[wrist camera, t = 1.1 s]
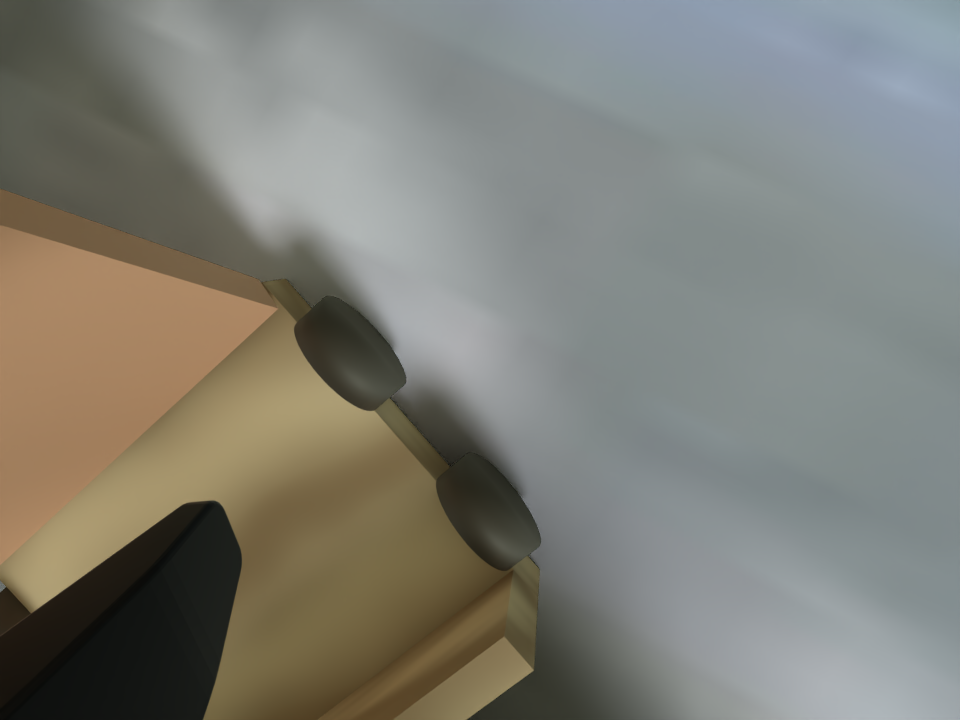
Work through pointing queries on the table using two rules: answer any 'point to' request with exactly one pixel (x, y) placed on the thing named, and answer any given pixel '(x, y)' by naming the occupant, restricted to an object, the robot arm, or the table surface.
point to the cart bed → (320, 532)
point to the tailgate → (97, 349)
